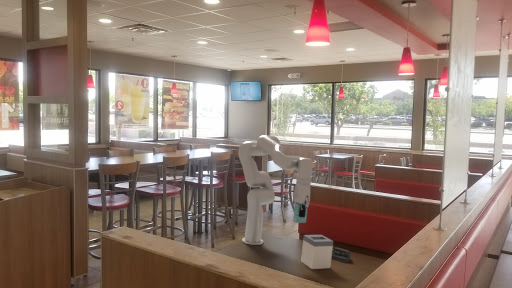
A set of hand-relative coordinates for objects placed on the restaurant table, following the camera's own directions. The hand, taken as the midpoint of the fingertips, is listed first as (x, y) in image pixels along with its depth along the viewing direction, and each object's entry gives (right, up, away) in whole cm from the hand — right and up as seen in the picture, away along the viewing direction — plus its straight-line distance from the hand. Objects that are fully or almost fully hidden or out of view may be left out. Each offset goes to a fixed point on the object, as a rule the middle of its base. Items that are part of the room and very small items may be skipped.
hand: (300, 216), depth 207 cm
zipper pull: (+18, -25, +17) cm, 35 cm away
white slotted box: (+8, -25, -2) cm, 26 cm away
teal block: (0, -3, 0) cm, 3 cm away
